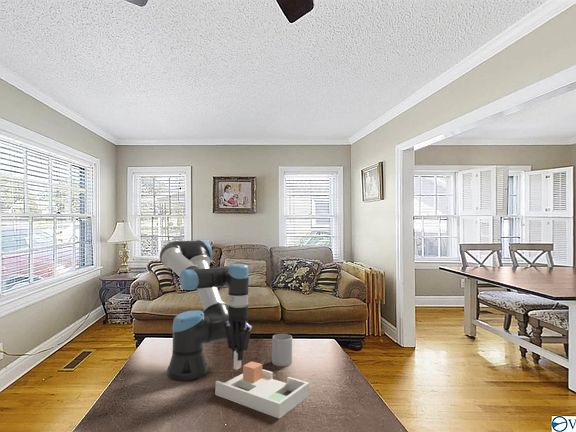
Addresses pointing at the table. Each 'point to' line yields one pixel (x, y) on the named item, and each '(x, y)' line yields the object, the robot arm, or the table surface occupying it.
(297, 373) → the table surface
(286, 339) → the mug
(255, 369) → the block
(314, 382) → the table surface
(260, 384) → the box
